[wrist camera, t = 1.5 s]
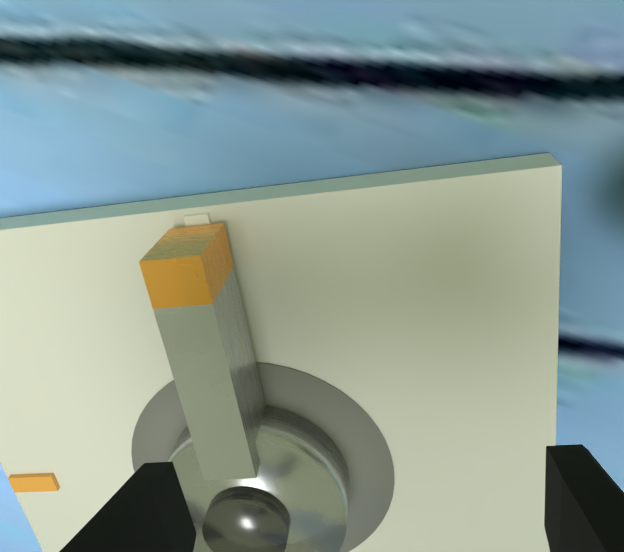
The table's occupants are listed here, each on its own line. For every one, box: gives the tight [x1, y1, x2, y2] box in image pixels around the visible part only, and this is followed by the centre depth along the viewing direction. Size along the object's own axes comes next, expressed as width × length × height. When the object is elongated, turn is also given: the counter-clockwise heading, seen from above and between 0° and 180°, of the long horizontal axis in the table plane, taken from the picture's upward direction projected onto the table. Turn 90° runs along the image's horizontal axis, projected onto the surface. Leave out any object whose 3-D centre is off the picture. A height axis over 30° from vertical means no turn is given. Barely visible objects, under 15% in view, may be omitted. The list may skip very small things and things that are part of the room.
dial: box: [139, 223, 350, 552], centre depth 20 cm, size 14×7×3 cm, turn 9°
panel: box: [0, 153, 562, 552], centre depth 24 cm, size 22×22×2 cm
